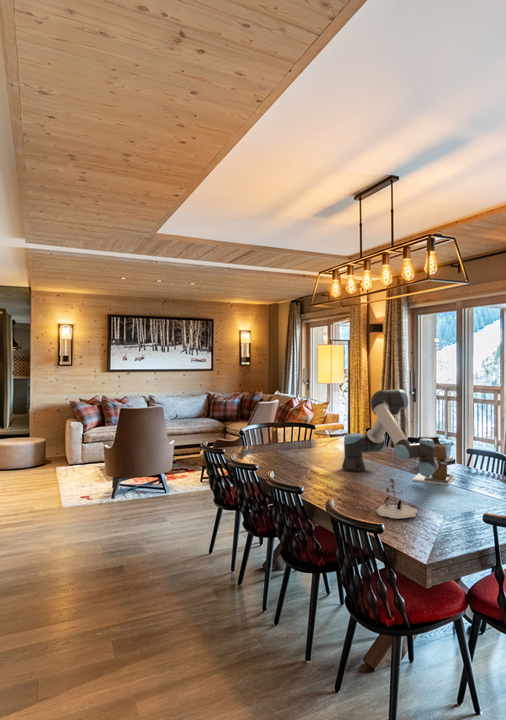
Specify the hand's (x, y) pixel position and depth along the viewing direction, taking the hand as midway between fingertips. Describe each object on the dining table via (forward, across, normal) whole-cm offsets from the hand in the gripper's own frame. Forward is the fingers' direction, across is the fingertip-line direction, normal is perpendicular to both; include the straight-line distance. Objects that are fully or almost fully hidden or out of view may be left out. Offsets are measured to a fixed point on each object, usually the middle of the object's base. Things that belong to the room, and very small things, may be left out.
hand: (439, 457), depth 264 cm
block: (-3, 0, -12) cm, 13 cm away
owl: (+32, -12, -13) cm, 36 cm away
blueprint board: (-3, -3, -13) cm, 14 cm away
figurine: (-72, -5, -14) cm, 74 cm away
